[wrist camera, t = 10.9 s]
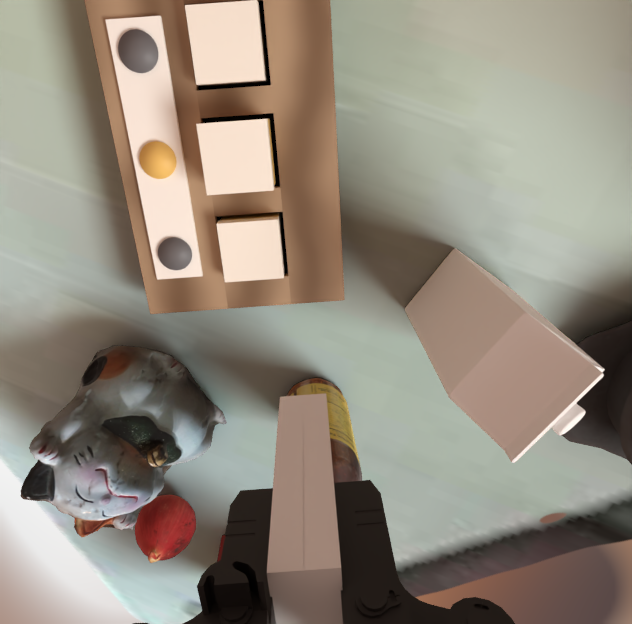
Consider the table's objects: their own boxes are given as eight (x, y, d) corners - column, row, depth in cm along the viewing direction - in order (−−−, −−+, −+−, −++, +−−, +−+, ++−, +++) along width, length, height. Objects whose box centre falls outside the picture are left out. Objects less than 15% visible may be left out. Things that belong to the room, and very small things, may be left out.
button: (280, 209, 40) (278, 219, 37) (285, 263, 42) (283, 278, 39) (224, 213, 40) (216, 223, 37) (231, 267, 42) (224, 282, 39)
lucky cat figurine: (242, 440, 51) (173, 581, 41) (148, 425, 55) (66, 549, 46) (184, 334, 41) (77, 485, 32) (77, 327, 46) (-45, 457, 36)
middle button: (270, 117, 36) (266, 118, 32) (276, 182, 38) (273, 190, 34) (207, 122, 36) (196, 123, 32) (216, 186, 38) (206, 195, 34)
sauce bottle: (309, 438, 51) (314, 625, 32) (270, 396, 49) (252, 571, 30) (361, 404, 49) (397, 579, 31) (323, 360, 47) (338, 520, 29)
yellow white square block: (261, 11, 35) (257, 0, 31) (268, 82, 37) (264, 79, 33) (197, 15, 35) (184, 5, 31) (206, 87, 37) (196, 84, 33)
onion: (209, 487, 53) (193, 548, 45) (192, 525, 55) (175, 590, 47) (155, 470, 52) (131, 531, 44) (140, 510, 54) (114, 574, 46)
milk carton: (403, 308, 46) (466, 434, 28) (453, 246, 44) (557, 340, 26) (461, 347, 47) (555, 489, 30) (512, 289, 45) (647, 405, 28)
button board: (324, -34, 35) (327, -51, 32) (340, 284, 45) (344, 300, 41) (100, -18, 35) (77, -33, 32) (162, 296, 45) (150, 314, 41)
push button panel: (161, 16, 33) (159, 15, 32) (203, 275, 40) (201, 277, 39) (106, 20, 33) (104, 19, 32) (158, 278, 40) (156, 280, 39)
